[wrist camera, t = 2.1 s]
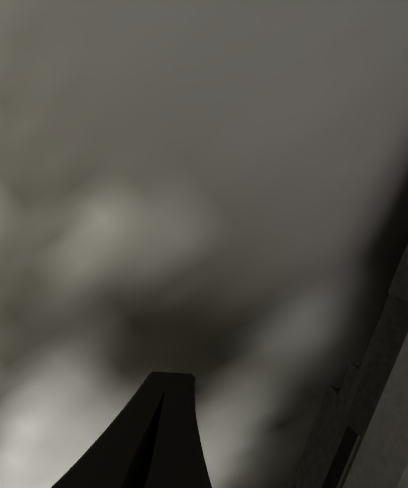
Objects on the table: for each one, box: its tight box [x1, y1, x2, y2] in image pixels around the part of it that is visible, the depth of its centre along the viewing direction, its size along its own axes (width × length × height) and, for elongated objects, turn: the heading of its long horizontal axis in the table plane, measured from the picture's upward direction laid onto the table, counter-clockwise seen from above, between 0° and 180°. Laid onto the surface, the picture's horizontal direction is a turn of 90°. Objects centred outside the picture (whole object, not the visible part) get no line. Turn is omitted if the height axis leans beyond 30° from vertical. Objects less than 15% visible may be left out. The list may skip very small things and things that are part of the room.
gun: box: [290, 243, 408, 488], centre depth 10 cm, size 4×20×10 cm, turn 162°
